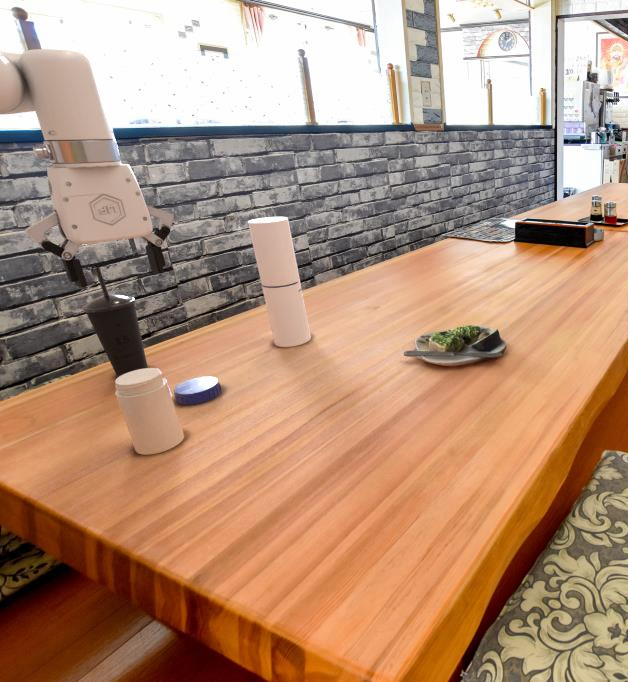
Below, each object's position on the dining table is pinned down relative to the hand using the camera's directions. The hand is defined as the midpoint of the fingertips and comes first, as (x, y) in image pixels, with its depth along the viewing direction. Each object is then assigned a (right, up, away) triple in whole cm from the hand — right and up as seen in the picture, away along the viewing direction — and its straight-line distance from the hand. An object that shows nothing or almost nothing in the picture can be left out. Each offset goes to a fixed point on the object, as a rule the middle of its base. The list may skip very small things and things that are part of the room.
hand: (121, 278), depth 77 cm
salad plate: (+48, -11, +25) cm, 55 cm away
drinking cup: (-13, -15, +21) cm, 29 cm away
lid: (+5, -17, +11) cm, 21 cm away
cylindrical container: (+11, -9, +34) cm, 37 cm away
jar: (+7, -24, -2) cm, 25 cm away
